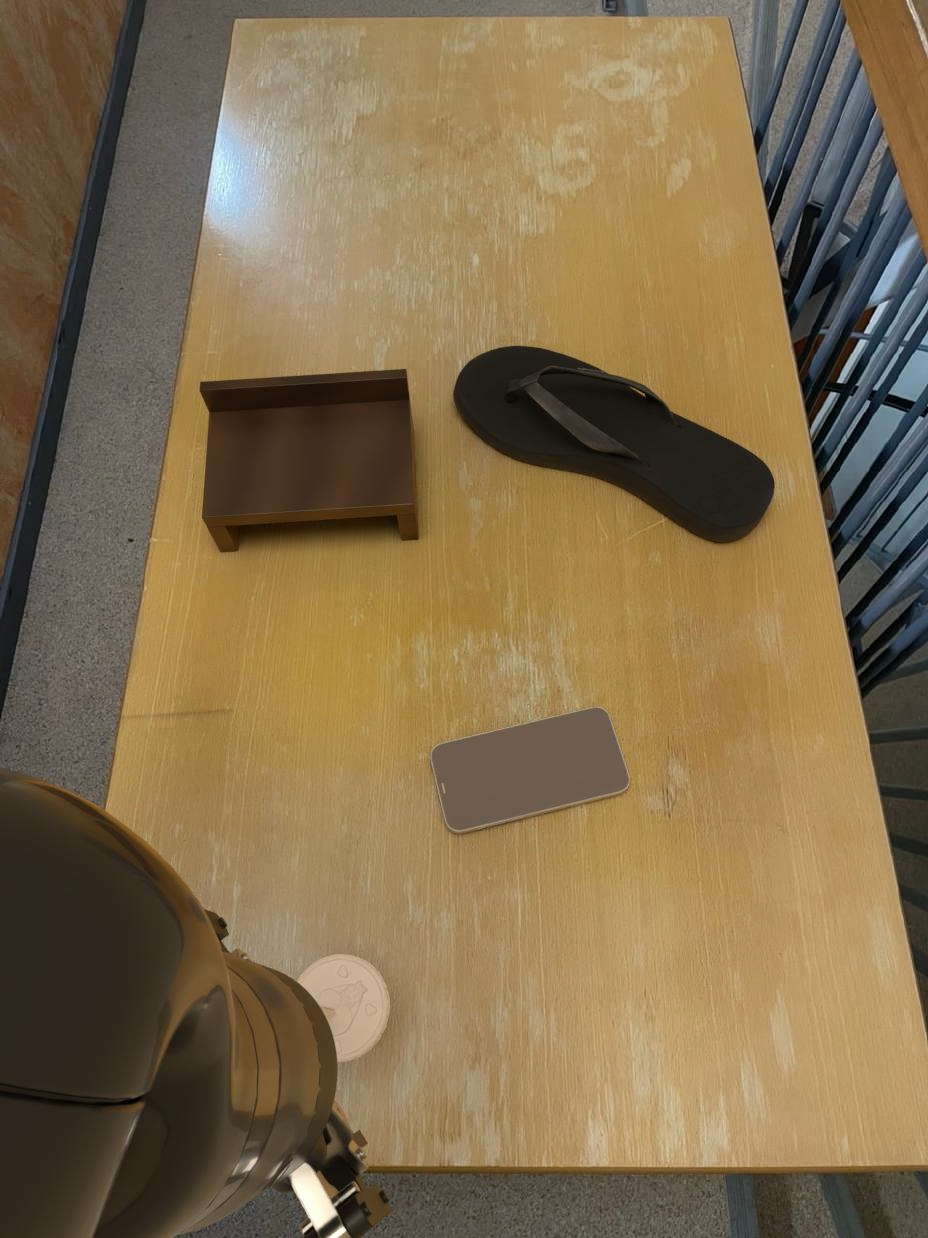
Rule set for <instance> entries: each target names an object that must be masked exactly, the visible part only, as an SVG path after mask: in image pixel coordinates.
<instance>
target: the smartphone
mask: <svg viewBox="0 0 928 1238" xmlns="http://www.w3.org/2000/svg"><path fill="white" fill-rule="evenodd" d="M429 757H430V760H429V761H430V764H431V768H432V769H431V770H432V774H433V778H434V782H435V786H436V790H437V794H438V798H439V803H440V807H441V811H442V815H443V820H444V823H445V826H446V828H447V829H448V830H449V831H450V832H451V833H453V834H457V835H458V834H459V835H461V834H466V833H471V832H474V831H478V830H483V829H486V828H490V827H495V826H499V825H502V824H507V823H510V822H515V821H518V820H522V819H523V820H524V819H527V818H531V817H535V816H539V815H543V814H548V813H550V812H555V811H559V810H563V809H566V808H571V807H574V806H575V807H576V806H579V805H583V804H587V803H591V802H595V801H598V800H605V799H607V798H611V797H617V796H619V795H621V794H624V793H625V792H626V791H627V789H628V788H629V786H630V783H631V776H630V773H629V770H628V765H627V763H626V760H625V757H624V754H623V751H622V748H621V744H620V742H619V739H618V736H617V733H616V730H615V727H614V723H613V720H612V717H611V715H610V713H609V712H608V710H607V709H605V707H604V708H603V707H602V706H590V707H586V708H581V709H577V710H573V711H568V712H565V713H564V712H563V713H561V714H555V715H552V716H548V717H543V718H540V719H535V720H531V721H526V722H522V723H517V724H515V725H510V726H506V727H502V728H498V729H493V730H489V731H485V732H481V733H476V734H472V735H468V736H464V737H459V738H455V739H450V740H447V741H442V742H439V743H437V744H436V745H434V746H433V747H432V748H431V750H430V754H429Z"/></svg>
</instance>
